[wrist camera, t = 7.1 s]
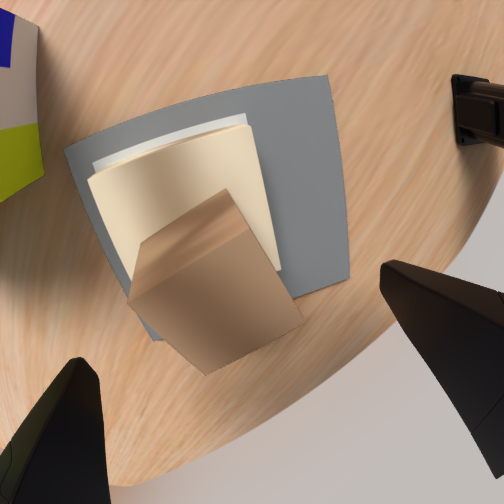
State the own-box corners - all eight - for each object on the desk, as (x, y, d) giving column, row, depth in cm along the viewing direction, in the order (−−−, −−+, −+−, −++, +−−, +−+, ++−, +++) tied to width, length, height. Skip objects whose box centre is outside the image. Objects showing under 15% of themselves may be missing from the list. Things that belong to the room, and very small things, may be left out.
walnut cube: (226, 187, 14) (249, 228, 9) (271, 263, 16) (305, 321, 12) (140, 242, 14) (127, 304, 9) (195, 308, 16) (205, 375, 12)
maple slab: (238, 123, 15) (250, 125, 12) (266, 246, 19) (281, 269, 16) (102, 167, 14) (87, 179, 12) (150, 282, 18) (147, 311, 16)
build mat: (323, 75, 15) (327, 75, 15) (346, 273, 23) (350, 277, 22) (66, 147, 14) (62, 149, 13) (153, 336, 21) (153, 341, 21)
